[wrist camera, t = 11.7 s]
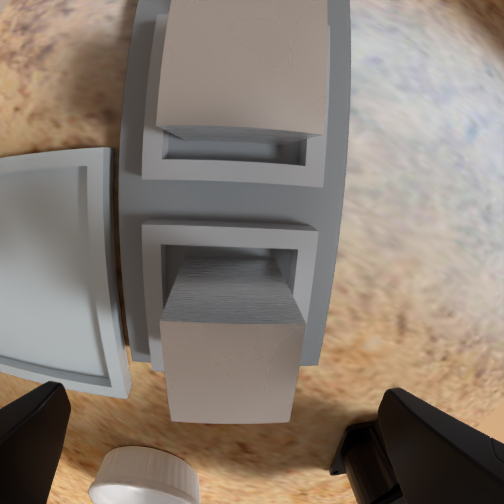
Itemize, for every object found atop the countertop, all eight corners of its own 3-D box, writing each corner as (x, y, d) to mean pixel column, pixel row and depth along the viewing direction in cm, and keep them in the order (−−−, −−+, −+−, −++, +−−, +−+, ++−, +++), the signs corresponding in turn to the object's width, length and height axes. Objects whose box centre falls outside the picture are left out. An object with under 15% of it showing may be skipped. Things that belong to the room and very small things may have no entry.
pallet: (312, 353, 17) (327, 388, 14) (137, 349, 16) (123, 383, 13) (341, -3, 12) (363, -30, 9) (149, -16, 11) (135, -47, 8)
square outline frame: (132, 384, 17) (127, 399, 16) (-22, 352, 16) (-31, 361, 14) (114, 148, 13) (103, 147, 12) (-55, 169, 12) (-68, 171, 11)
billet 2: (267, 335, 15) (289, 422, 10) (186, 333, 15) (171, 421, 9) (274, 258, 14) (306, 323, 8) (185, 255, 14) (159, 320, 8)
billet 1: (281, 145, 13) (323, 134, 7) (186, 140, 12) (156, 125, 7) (286, 59, 12) (327, -2, 6) (194, 53, 11) (173, -14, 6)
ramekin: (210, 495, 22) (211, 533, 17) (118, 489, 21) (111, 523, 17) (196, 441, 19) (193, 489, 15) (84, 433, 18) (69, 474, 14)
